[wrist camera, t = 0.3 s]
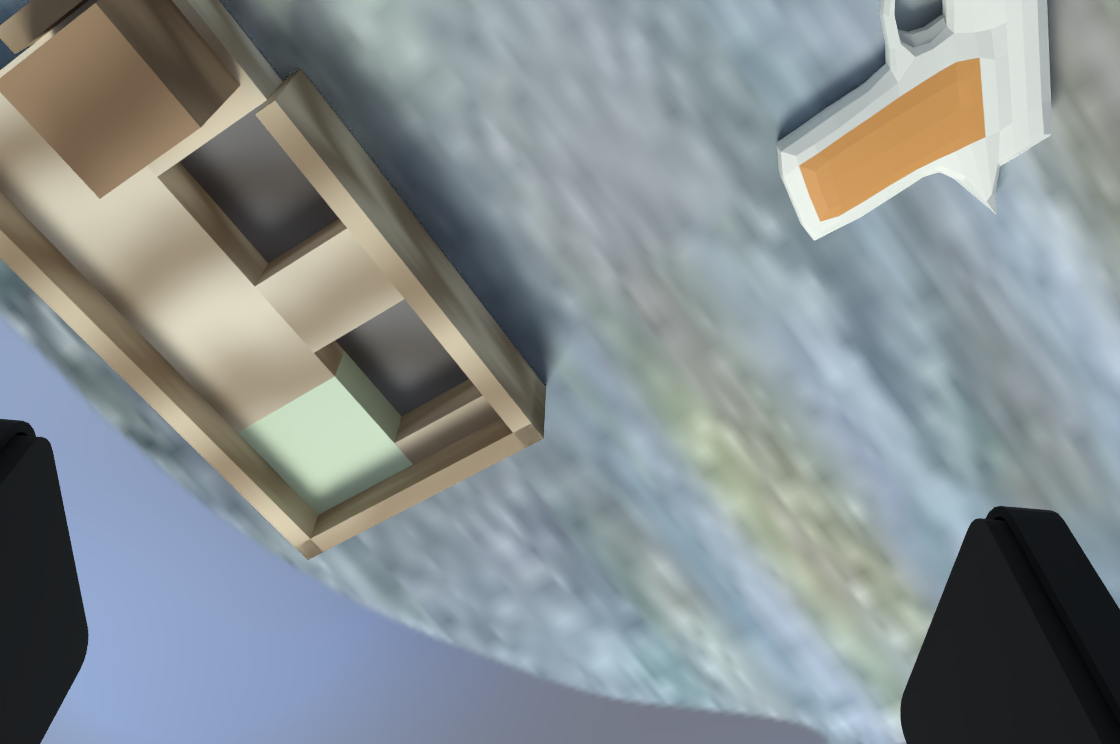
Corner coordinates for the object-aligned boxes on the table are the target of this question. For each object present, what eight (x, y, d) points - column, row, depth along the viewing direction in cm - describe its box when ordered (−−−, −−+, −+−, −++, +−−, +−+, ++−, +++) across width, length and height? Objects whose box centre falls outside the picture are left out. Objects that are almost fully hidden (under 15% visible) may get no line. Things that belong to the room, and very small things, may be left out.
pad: (251, 403, 51) (237, 432, 49) (345, 348, 50) (334, 376, 47) (328, 483, 54) (318, 515, 52) (420, 434, 52) (413, 464, 50)
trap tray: (-70, 96, 43) (-130, 130, 40) (172, -99, 39) (131, -81, 35) (325, 504, 55) (307, 559, 51) (545, 387, 51) (543, 438, 47)
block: (55, 45, 40) (-8, 83, 35) (148, -28, 38) (95, 3, 34) (148, 151, 42) (99, 199, 38) (240, 85, 40) (200, 127, 36)
